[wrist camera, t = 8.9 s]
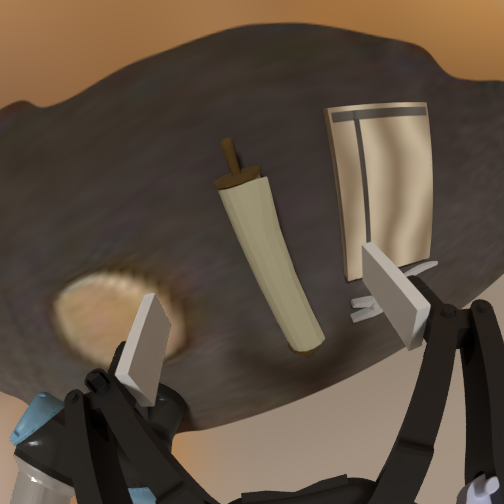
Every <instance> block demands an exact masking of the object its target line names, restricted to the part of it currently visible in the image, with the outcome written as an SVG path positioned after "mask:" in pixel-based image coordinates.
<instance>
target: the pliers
mask: <svg viewBox="0 0 504 504" xmlns="http://www.w3.org/2000/svg"><path fill="white" fill-rule="evenodd" d="M436 265H438V262H437V261H431V262H426V263H423V264H420V265H418V266H416V267H414V268H412V269H410V270H409V271H407V272H406V273H404V275H405V276H406V277H407V276H410V275H414V276H415V275H417V274H419V273H420V272H422V271H424V270H426V269H428V268H431V267H433V266H436ZM351 305H352V307H353V308H363V307H366V308H363V309H361V310H359V311H357V312H355V313H353V314H351V315H350V316H351V319H352V321H353V323H354V322H358V321H361V320H364V319H367V318H370V317H373V316H376V315H378V314H380V313H382V312H383V310H382V309H381V307H380V306H379V304H378V303H377V301H376V300H375V298H374V297H373V295H372V296H367V297H362V298H357V299H352V300H351Z"/></svg>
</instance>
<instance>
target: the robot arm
mask: <svg viewBox="0 0 504 504" xmlns="http://www.w3.org/2000/svg"><path fill="white" fill-rule="evenodd" d="M361 245H362V277H363V282H364V284H365V285H366V287H367V288H368V290H369V291H370V292H371V294H372V295H373V297H374V298H375V300H376V301H377V303H378V304H379V306H380V307H381V309H382V310H383V311H384V313H385V314H386V316H387V318H388V319H389V321H390V322H391V324H392V325H393V327H394V328H395V330H396V331H397V333H398V334H399V336H400V338H401V339H402V341H403V342H404V344H405V346H406V347H407V349H408V350H409V351H410V350H413V349H415V348H418V347H420V346H421V345H422V341H423V338H424V339H425V341H426V342H427V345H426V349H425V352H424V356H423V361H422V365H421V369H420V372H419V376H418V379H417V382H416V386H415V389H414V392H413V395H412V398H411V401H410V404H409V407H408V410H407V413H406V415H405V418H404V421H403V423H402V426H401V429H400V431H399V434H398V436H397V438H396V441H395V443H394V445H393V448H392V450H391V452H390V455H389V457H388V459H387V461H386V463H385V465H384V466H383V468H382V470H381V472H380V474H379V476H378V478H377V480H376V482H374V481H372V480H368V479H364V478H347V474H344V475H341V476H337V477H333V478H330V479H326V480H322V481H319V482H317V483H315V484H312V485H311V486H308V487H306V488H304V489H301V490H299V491H296V492H280V491H259V492H249V493H241V497H242V498H239V499H236V500H234V501H232V502H230V503H228V504H417V503H415V502H414V500H415V498H416V496H417V494H418V492H419V490H420V487H421V485H422V483H423V480H424V478H425V476H426V473H427V471H428V468H429V465H430V462H431V460H432V457H433V453H434V448H433V447H434V443H435V440H436V436H437V433H438V430H439V427H440V423H441V419H442V416H443V412H444V408H445V404H446V400H447V396H448V391H449V386H450V381H451V376H452V370H453V364H454V358H455V351H456V349H460V354H461V361H462V370H463V377H464V388H465V406H466V453H465V486H464V487H463V488H462V489H461V491H460V492H459V494H458V496H457V503H456V504H504V342H503V338H502V335H501V332H500V328H499V325H498V322H497V319H496V316H495V313H494V310H493V307H492V306H491V304H490V303H489V302H488V301H485V300H482V299H481V300H480V299H478V300H475V301H473V302H472V304H471V307H470V308H469V309H461V310H458V309H457V308H456V307H455V306H453V305H451V304H443V302H442V301H441V300H440V299H439V298H438V297H437V296H436V295H435V294H434V292H433V291H432V290H431V289H430V288H429V287H428V286H427V285H426V284H425V283H424V282H423V281H422V280H421V279H420V278H418V277H416V276H414V275H410V276H407V277H406V276H405V275H404V274H403V273H402V272H401V271H400V270H399V269H398V268H397V267H396V266H395V264H394V263H393V262H392V261H391V260H390V259H389V258H388V257H387V256H386V255H385V254H384V253H383V252H382V251H381V250H380V249H379V248H378V247H377V246H376V245H375V244H374V243H373V242H369V243H365V244H361ZM170 328H171V324H170V322H169V320H168V318H167V316H166V314H165V312H164V310H163V308H162V306H161V304H160V302H159V300H158V298H157V296H156V294H155V293H152V294H147V295H144V298H143V300H142V303H141V305H140V308H139V310H138V313H137V315H136V318H135V320H134V323H133V325H132V328H131V331H130V333H129V336H128V339H127V341H123V342H121V343H120V345H119V346H118V347H117V349H116V351H115V354H114V357H113V359H112V362H111V365H110V368H109V370H108V373H107V374H106V372H105V371H104V370H103V369H100V368H98V369H94V370H92V371H91V372H90V373H88V375H87V376H86V378H85V385H86V386H87V387H88V388H89V390H90V391H91V392H89V393H86V394H83V393H82V392H81V391H80V390H78V389H75V390H72V391H70V392H69V393H68V394H67V395H66V397H65V401H64V402H63V401H61V400H59V399H58V398H56V397H54V396H53V395H51V394H50V393H48V392H40V393H38V394H37V395H36V396H35V398H34V399H33V401H32V402H31V404H30V405H29V407H28V408H27V410H26V412H25V413H24V415H23V416H22V418H21V419H20V421H19V423H18V424H17V426H16V428H15V429H14V431H13V433H12V434H11V436H10V441H11V442H12V444H13V445H14V446H15V445H16V449H15V452H14V455H13V456H14V458H15V460H16V462H17V464H18V467H19V472H18V475H17V479H16V482H15V486H14V490H13V493H12V497H11V502H10V504H70V499H71V497H72V496H74V495H76V498H77V503H78V504H220V503H219V502H217V501H216V500H215V499H214V498H212V497H211V496H210V495H209V494H208V493H207V492H206V491H205V490H204V489H203V488H202V487H201V486H200V485H199V484H198V483H197V482H196V481H195V480H194V479H193V478H192V477H191V475H190V474H189V473H188V472H187V471H186V470H185V469H184V468H183V467H182V465H181V464H180V463H179V462H178V461H177V460H176V458H175V457H174V456H173V455H172V454H171V449H172V448H171V447H172V440H173V437H174V435H175V434H176V432H177V430H178V428H179V426H180V424H181V422H182V420H183V419H184V415H185V403H184V401H183V399H182V398H181V397H180V396H179V395H178V394H177V393H176V392H174V391H173V390H171V389H170V388H168V387H166V386H164V385H162V384H159V379H160V374H161V369H162V364H163V360H164V355H165V350H166V346H167V341H168V337H169V332H170Z"/></svg>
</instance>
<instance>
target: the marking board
mask: <svg viewBox="0 0 504 504" xmlns="http://www.w3.org/2000/svg"><path fill="white" fill-rule="evenodd" d="M323 112H324V117H325V122H326V127H327V132H328V138H329V144H330V150H331V156H332V162H333V169H334V176H335V183H336V191H337V198H338V207H339V216H340V226H341V236H342V248H343V261H344V275H345V277H346V279H347V280H348V281H351V280H355V279H358V278H362V245H361V244H365V243H369V242H373V243H374V244H375V245H376V246H377V247H378V248H379V249H380V250H381V251H382V252H383V253H384V254H385V255H386V256H387V257H388V258H389V259H390V260H391V261H392V262H393V263H394V264H395V266H396V267H400V266H404V265H407V264H410V263H413V262H417V261H420V260H423V259H426V258H429V255H430V244H431V230H432V207H433V175H432V152H431V139H430V128H429V119H428V111H427V104H426V103H424V102H404V103H380V104H365V105H353V106H343V107H334V108H326V109H323Z"/></svg>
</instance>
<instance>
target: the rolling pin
mask: <svg viewBox="0 0 504 504" xmlns="http://www.w3.org/2000/svg"><path fill="white" fill-rule="evenodd" d="M221 149H222V151H223V153H224V156H225V158H226V160H227V163H228V165H229V168H230V171H231V172H230V173H228V174H225V175H223V176H221V177H220V178H218V179H216V180H215V181H214V182H213V186H214V188H216V189H218V192H219V194H220V197H221V199H222V202H223V204H224V207H225V209H226V211H227V214H228V216H229V219H230V221H231V223H232V226H233V228H234V231H235V233H236V235H237V238H238V240H239V242H240V245H241V247H242V249H243V251H244V253H245V256H246V258H247V260H248V262H249V264H250V267H251V269H252V271H253V273H254V275H255V278H256V280H257V282H258V284H259V286H260V288H261V290H262V292H263V294H264V296H265V298H266V300H267V302H268V304H269V306H270V308H271V310H272V312H273V314H274V316H275V318H276V320H277V322H278V324H279V326H280V327H281V329H282V331H283V333H284V335H285V337H286V338H287V340H288V347H289V349H290V350H291V351H292V352H293V353H294V354H298V355H305V356H306V357H308V358H310V357H312V356H313V352H314V351H316V350H317V349H319V347H320V345H321V343H322V342H323V340H324V339H325V336H324V334H323V332H322V330H321V328H320V326H319V324H318V322H317V320H316V318H315V316H314V314H313V312H312V309H311V307H310V305H309V303H308V300H307V298H306V296H305V294H304V291H303V289H302V287H301V285H300V282H299V280H298V278H297V276H296V273H295V270H294V267H293V264H292V261H291V259H290V256H289V253H288V250H287V247H286V244H285V241H284V239H283V236H282V233H281V230H280V227H279V222H278V218H277V214H276V210H275V206H274V202H273V198H272V194H271V190H270V186H269V182H268V178H267V177H263V178H261V176H260V174H261V171H262V169H261V166H250V167H245V168H242V169H240V168H239V164H238V160H237V156H236V151H235V145H234V142H233V140H232V139H231V138H225V139H223V140H222V141H221Z"/></svg>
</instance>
